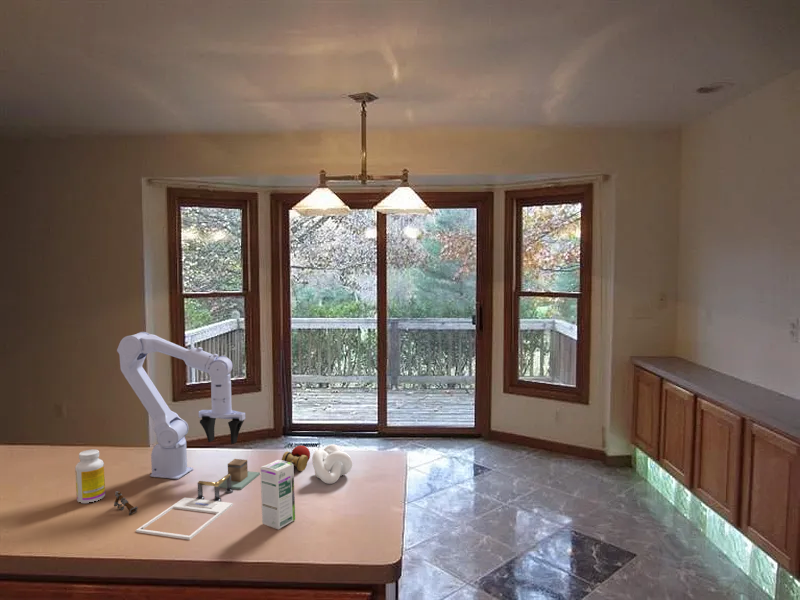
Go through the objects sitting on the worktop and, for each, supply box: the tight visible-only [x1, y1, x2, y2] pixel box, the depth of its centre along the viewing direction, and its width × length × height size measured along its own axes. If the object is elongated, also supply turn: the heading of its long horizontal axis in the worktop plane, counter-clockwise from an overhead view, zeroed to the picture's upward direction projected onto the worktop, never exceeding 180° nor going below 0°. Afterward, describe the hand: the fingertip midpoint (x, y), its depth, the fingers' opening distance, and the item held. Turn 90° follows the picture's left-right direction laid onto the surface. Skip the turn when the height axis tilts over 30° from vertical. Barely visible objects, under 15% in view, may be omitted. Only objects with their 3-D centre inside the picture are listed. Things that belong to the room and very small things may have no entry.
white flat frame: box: [135, 497, 234, 541], centre depth 133 cm, size 15×1×18 cm
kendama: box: [281, 445, 311, 472], centre depth 162 cm, size 8×6×18 cm
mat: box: [219, 470, 261, 490], centre depth 155 cm, size 8×11×1 cm
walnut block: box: [227, 458, 249, 482], centre depth 155 cm, size 4×4×5 cm
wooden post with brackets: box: [113, 490, 138, 516], centre depth 137 cm, size 2×8×4 cm, turn 61°
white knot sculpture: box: [311, 443, 353, 485], centre depth 156 cm, size 11×12×9 cm
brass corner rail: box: [195, 473, 234, 502], centre depth 145 cm, size 7×8×5 cm
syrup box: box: [259, 459, 296, 530], centre depth 130 cm, size 6×6×14 cm
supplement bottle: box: [74, 449, 106, 504], centre depth 143 cm, size 7×7×13 cm
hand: (222, 442), depth 161 cm, fingers open, 7 cm apart
